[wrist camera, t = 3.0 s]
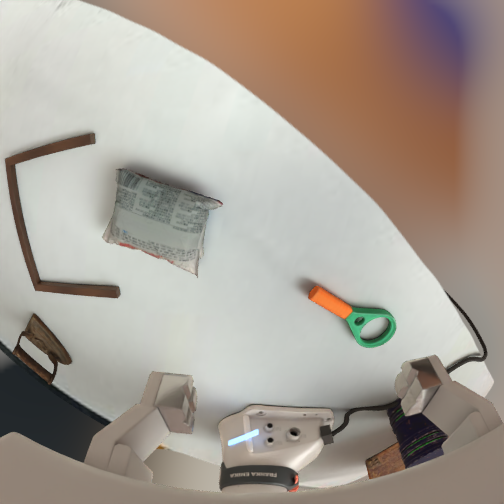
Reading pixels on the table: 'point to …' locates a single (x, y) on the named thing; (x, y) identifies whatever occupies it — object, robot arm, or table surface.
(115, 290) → the bay
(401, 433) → the dark blue cylinder
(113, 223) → the packaged food
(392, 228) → the table surface
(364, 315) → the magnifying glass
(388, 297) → the table surface
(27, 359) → the clothes iron
